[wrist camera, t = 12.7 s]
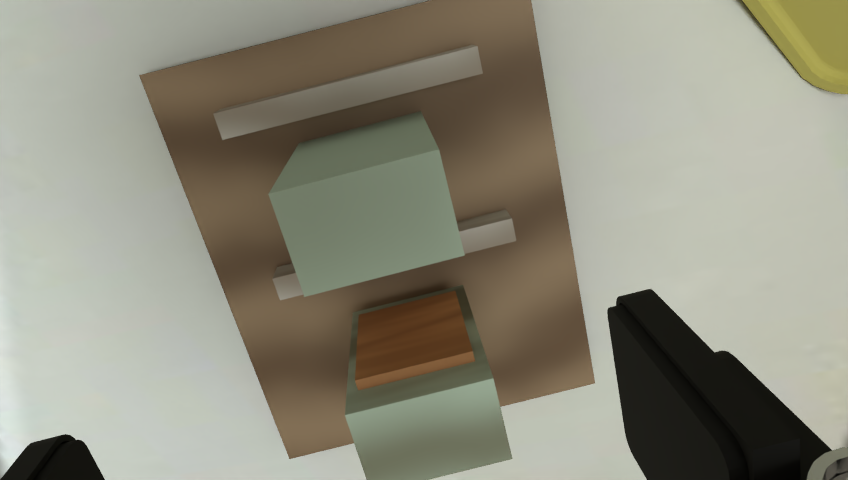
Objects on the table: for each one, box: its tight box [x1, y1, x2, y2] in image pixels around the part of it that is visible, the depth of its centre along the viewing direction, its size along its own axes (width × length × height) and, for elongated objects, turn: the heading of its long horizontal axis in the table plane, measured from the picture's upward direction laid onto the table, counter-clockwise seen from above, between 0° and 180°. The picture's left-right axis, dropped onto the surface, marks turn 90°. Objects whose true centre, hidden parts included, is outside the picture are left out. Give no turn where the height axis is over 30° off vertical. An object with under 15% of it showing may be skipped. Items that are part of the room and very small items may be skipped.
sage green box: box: [268, 111, 465, 297], centre depth 26 cm, size 4×6×9 cm
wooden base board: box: [139, 0, 595, 480], centre depth 28 cm, size 22×18×10 cm
